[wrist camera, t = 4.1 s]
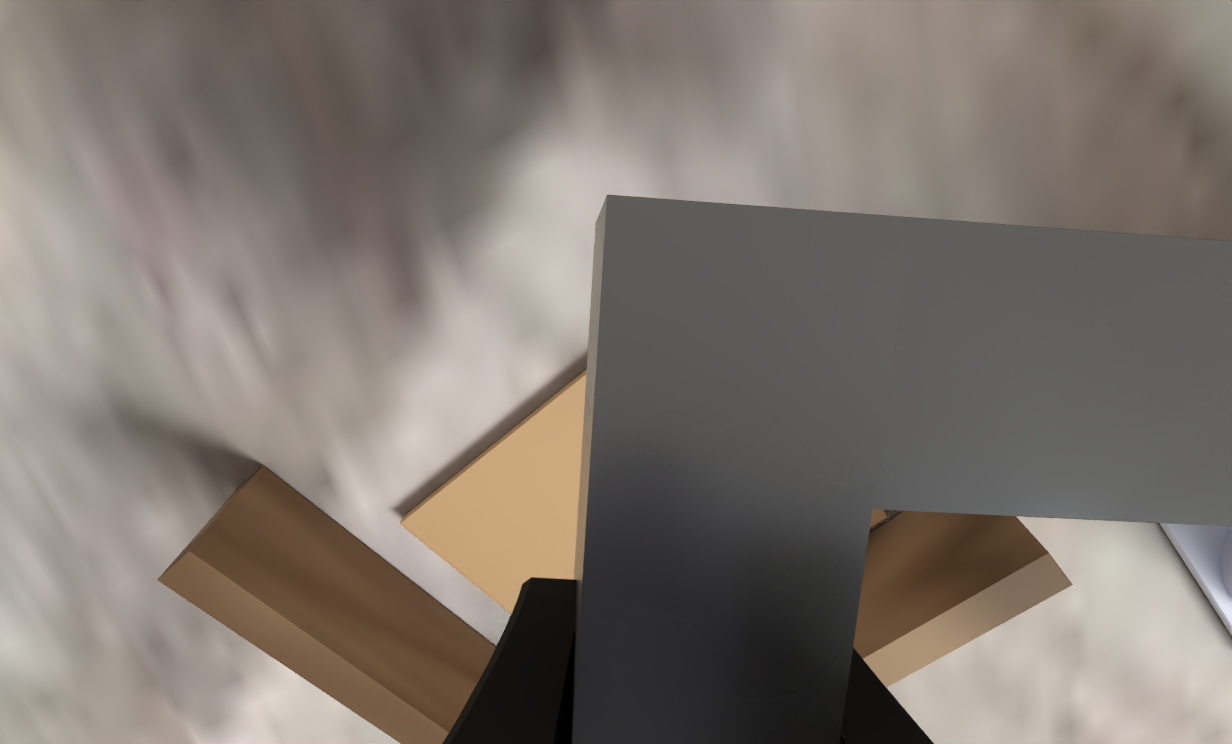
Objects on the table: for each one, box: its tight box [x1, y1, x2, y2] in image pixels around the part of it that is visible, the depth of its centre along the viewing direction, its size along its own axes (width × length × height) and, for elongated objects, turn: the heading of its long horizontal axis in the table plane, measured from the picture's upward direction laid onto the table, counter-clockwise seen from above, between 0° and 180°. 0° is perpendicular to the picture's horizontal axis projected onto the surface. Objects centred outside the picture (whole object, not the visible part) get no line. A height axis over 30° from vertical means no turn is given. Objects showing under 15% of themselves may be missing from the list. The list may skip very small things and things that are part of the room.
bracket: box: [567, 195, 1232, 744], centre depth 8 cm, size 8×6×5 cm
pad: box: [400, 369, 887, 614], centre depth 18 cm, size 10×8×1 cm
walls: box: [158, 466, 1073, 744], centre depth 17 cm, size 15×14×3 cm
